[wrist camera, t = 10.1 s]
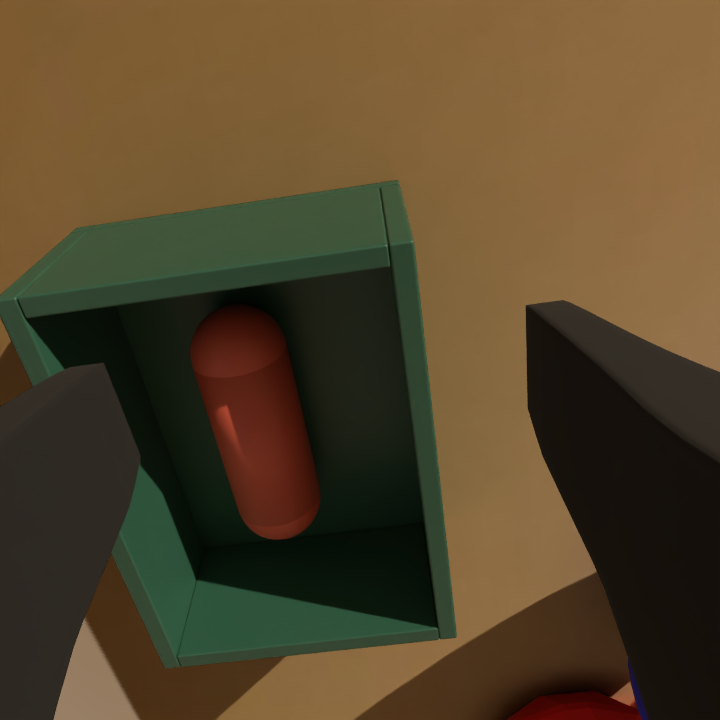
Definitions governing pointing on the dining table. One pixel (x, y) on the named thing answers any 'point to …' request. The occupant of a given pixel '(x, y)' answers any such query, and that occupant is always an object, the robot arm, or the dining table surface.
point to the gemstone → (576, 708)
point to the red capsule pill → (257, 419)
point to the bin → (318, 402)
